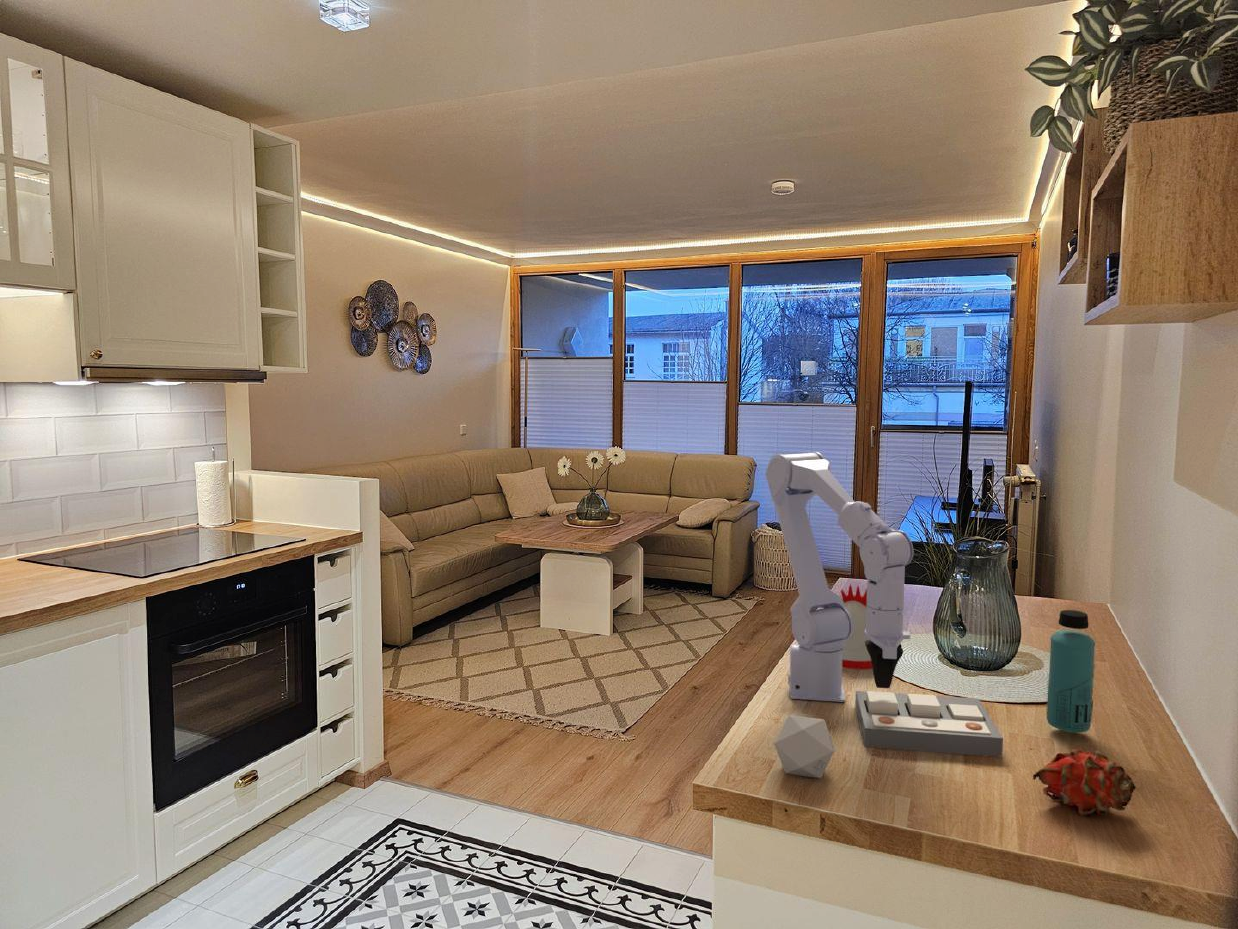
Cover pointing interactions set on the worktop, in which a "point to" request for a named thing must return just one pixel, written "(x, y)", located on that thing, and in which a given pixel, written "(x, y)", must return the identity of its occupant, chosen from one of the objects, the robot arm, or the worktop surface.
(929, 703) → the middle button
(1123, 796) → the dragon fruit
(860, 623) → the kitchen timer
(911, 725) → the button board
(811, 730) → the die
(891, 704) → the left button
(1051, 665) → the beverage bottle
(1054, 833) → the worktop surface
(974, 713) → the right button
